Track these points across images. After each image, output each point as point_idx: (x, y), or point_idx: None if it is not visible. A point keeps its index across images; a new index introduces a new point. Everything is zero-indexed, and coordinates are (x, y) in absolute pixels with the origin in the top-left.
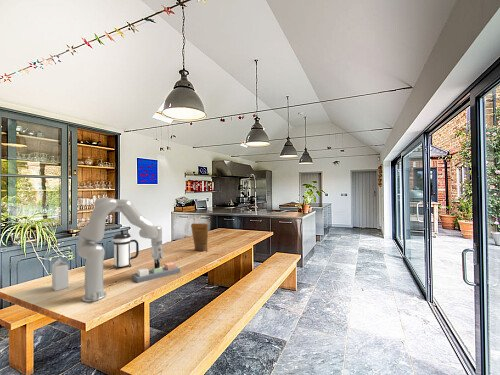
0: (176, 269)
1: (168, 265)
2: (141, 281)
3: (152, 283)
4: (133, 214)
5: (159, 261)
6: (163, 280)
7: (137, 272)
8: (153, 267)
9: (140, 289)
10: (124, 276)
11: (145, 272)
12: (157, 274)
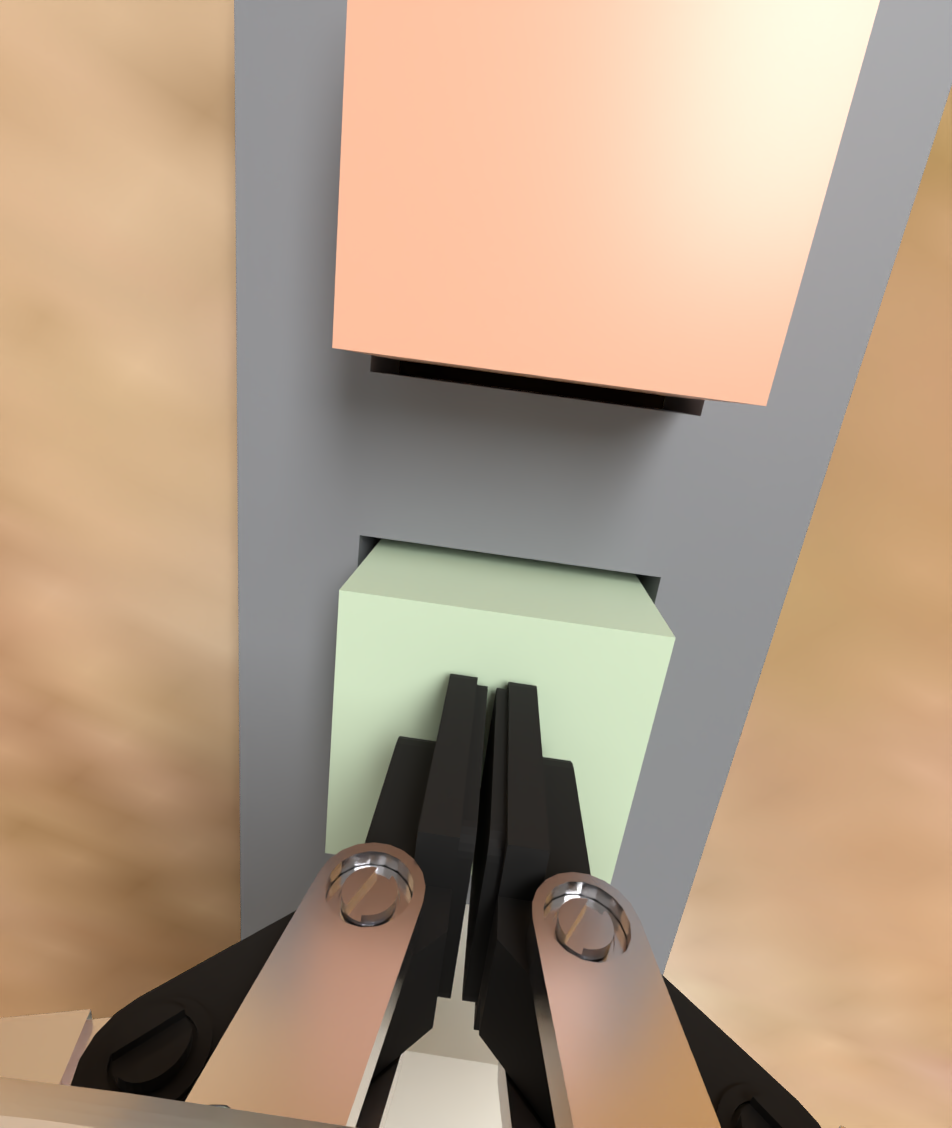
0: (950, 67)
1: (775, 357)
2: None
3: (864, 915)
4: None
5: (655, 979)
6: (946, 711)
7: None
8: (340, 796)
9: (909, 1120)
10: (82, 1007)
11: None
12: (719, 782)
